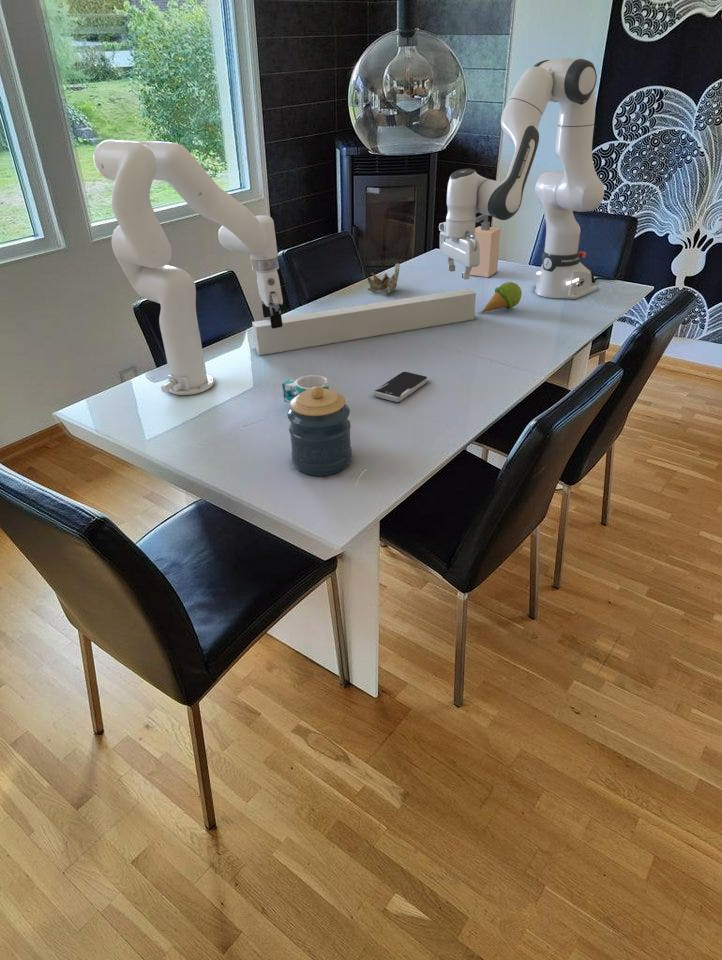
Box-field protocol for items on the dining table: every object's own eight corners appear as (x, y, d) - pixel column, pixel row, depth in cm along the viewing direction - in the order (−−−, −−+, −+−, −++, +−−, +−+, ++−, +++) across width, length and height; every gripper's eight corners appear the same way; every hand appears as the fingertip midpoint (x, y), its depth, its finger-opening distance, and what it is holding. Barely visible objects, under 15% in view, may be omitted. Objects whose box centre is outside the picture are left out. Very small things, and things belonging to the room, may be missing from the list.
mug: (318, 422, 160) (315, 391, 156) (277, 412, 166) (274, 381, 161) (336, 409, 166) (334, 377, 162) (297, 399, 171) (294, 368, 167)
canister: (282, 471, 142) (273, 395, 133) (307, 442, 152) (301, 370, 143) (338, 481, 138) (333, 404, 129) (360, 451, 148) (358, 377, 139)
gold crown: (411, 271, 247) (402, 252, 239) (394, 304, 243) (385, 285, 235) (390, 269, 252) (380, 250, 243) (373, 301, 248) (363, 283, 239)
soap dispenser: (476, 269, 264) (480, 210, 252) (497, 271, 260) (501, 211, 248) (463, 277, 255) (466, 216, 243) (484, 280, 251) (488, 218, 239)
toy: (490, 328, 222) (529, 303, 221) (483, 307, 216) (523, 282, 215) (478, 316, 228) (516, 293, 227) (471, 297, 222) (510, 272, 221)
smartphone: (428, 377, 177) (398, 398, 167) (428, 381, 178) (398, 403, 168) (403, 371, 181) (372, 391, 171) (403, 375, 182) (373, 396, 171)
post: (259, 355, 198) (255, 327, 193) (255, 349, 202) (252, 321, 197) (474, 319, 217) (475, 293, 212) (466, 314, 221) (468, 288, 216)
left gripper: (286, 269, 181) (293, 329, 191) (270, 253, 195) (278, 310, 205) (259, 273, 179) (267, 334, 189) (245, 257, 193) (253, 314, 203)
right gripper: (486, 234, 195) (483, 282, 202) (454, 221, 211) (452, 265, 219) (467, 237, 193) (465, 285, 201) (436, 223, 209) (435, 268, 217)
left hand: (272, 321), depth 197 cm, fingers open, 9 cm apart
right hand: (458, 274), depth 210 cm, fingers open, 8 cm apart
